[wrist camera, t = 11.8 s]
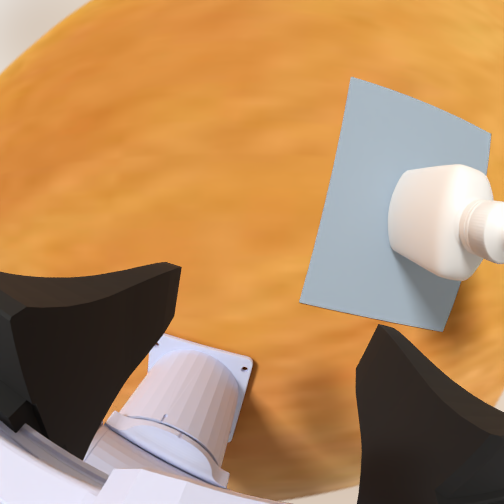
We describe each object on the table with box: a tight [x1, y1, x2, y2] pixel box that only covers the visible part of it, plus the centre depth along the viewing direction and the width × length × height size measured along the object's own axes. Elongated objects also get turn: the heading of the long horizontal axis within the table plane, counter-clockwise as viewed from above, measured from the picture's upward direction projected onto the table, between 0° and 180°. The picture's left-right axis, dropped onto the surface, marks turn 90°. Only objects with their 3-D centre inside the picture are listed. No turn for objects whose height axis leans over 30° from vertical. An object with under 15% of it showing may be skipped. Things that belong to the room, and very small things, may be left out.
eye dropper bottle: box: [388, 164, 504, 281], centre depth 13 cm, size 4×6×12 cm
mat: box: [299, 77, 491, 332], centre depth 19 cm, size 16×12×1 cm
